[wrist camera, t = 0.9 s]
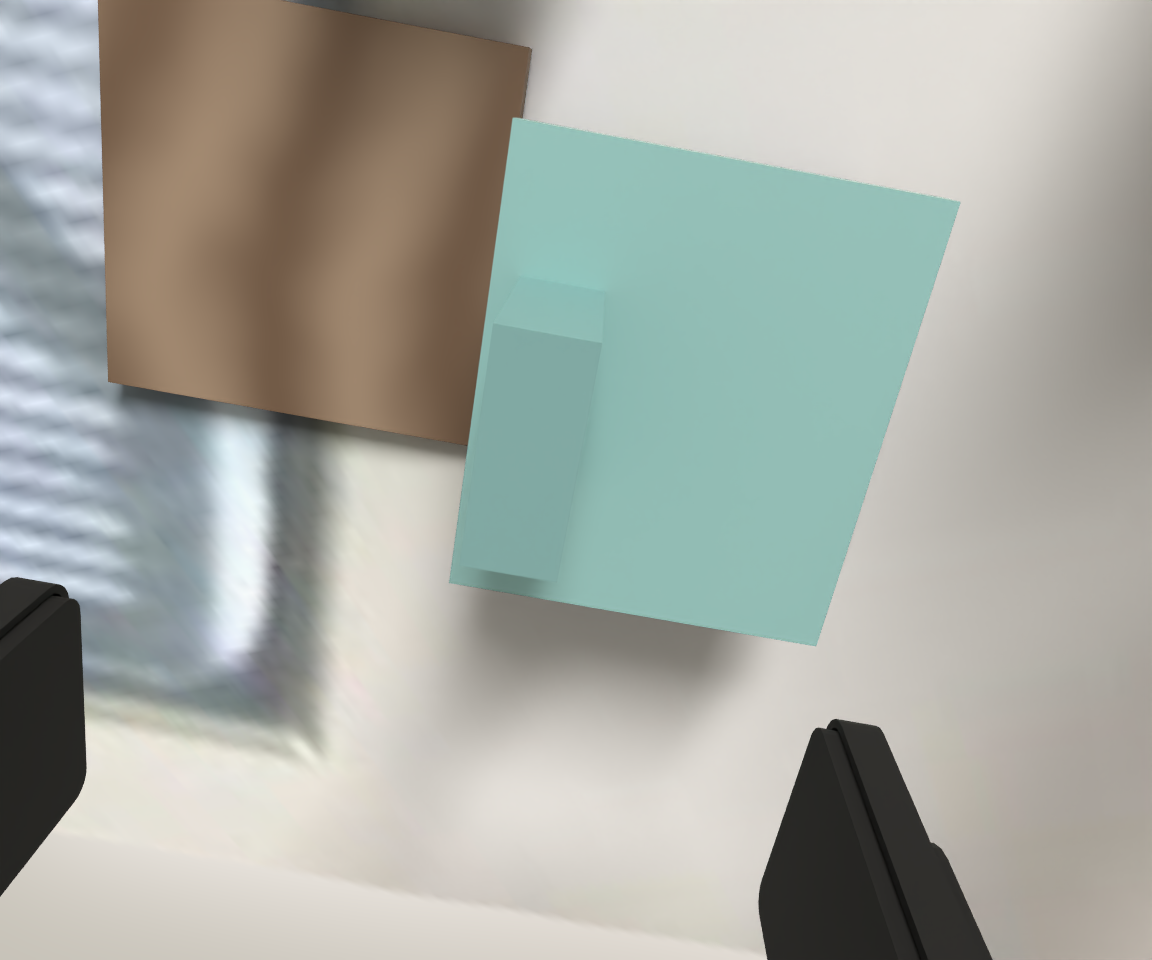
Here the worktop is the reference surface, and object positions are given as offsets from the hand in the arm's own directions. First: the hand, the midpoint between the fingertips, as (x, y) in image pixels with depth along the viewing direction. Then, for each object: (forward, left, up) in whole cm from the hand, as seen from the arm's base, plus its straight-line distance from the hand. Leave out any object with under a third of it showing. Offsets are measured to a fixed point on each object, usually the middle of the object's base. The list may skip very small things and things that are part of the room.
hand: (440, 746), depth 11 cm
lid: (-4, 0, -18) cm, 19 cm away
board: (+9, -2, -24) cm, 26 cm away
